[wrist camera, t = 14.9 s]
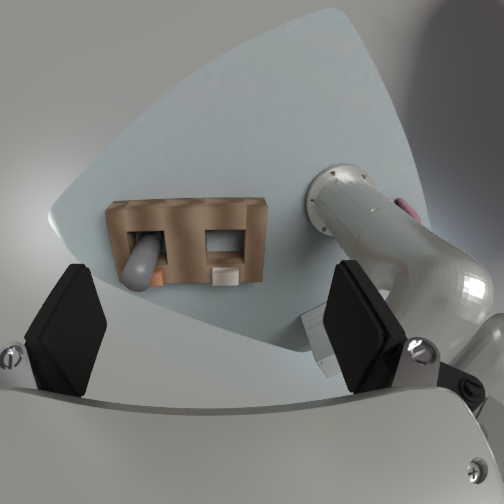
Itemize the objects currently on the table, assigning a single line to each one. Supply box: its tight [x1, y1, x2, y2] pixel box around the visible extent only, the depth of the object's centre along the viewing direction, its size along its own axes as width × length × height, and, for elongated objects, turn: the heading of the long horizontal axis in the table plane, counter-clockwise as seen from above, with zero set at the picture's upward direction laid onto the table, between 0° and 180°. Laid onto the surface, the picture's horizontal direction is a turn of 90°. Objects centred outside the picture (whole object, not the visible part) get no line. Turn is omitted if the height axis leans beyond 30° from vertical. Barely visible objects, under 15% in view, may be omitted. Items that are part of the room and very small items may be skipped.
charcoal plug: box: [121, 231, 162, 292], centre depth 40 cm, size 4×4×12 cm
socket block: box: [105, 198, 268, 286], centre depth 43 cm, size 24×13×6 cm, turn 88°
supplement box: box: [300, 303, 341, 378], centre depth 53 cm, size 7×7×13 cm
